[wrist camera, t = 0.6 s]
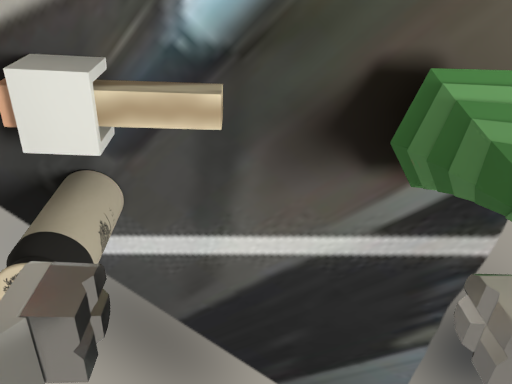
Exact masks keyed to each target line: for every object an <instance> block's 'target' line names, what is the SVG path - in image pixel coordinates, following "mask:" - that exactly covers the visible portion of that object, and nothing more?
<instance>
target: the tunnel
mask: <svg viewBox="0 0 512 384" xmlns="http://www.w3.org/2000/svg"><path fill="white" fill-rule="evenodd" d="M106 69H107V66H106V58H105V57H86V56H66V55H46V54H28V55H27V56H25V57H23V58H21V59H19V60H17V61H16V62H14V63H12V64H10V65H8V66H7V67H5V68H3V70H4V74H5V79H6V83H7V87H8V91H9V95H10V99H11V103H12V107H13V112H14V116H15V120H16V124H17V128H18V132H19V136H20V140H21V145H22V149H23V153H41V154H67V155H93V156H100V155H101V154H102V152H103V151H104V149H105V148H106V146H107V145H108V143H109V142H110V140H111V138H112V137H113V135H114V134H115V133H114V127H104V126H99V125H98V118H97V111H96V104H95V97H94V89H93V81H95V80H96V79H97V78H98V77H99V76H100V75H101V74H102V73H103V72H104V71H105V70H106Z"/></svg>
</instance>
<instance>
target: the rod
mask: <svg viewBox="0 0 512 384" xmlns="http://www.w3.org/2000/svg"><path fill="white" fill-rule="evenodd" d="M93 89H94V97H95V104H96V111H97V118H98V125H99V126H104V127H139V128H174V129H208V130H221V127H222V119H223V84H209V83H178V82H148V81H118V80H95V81H93Z"/></svg>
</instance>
